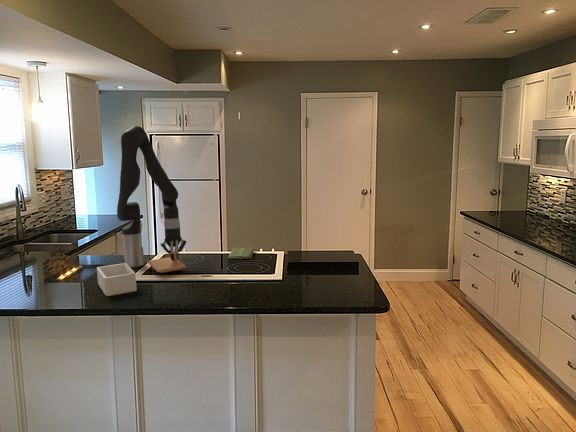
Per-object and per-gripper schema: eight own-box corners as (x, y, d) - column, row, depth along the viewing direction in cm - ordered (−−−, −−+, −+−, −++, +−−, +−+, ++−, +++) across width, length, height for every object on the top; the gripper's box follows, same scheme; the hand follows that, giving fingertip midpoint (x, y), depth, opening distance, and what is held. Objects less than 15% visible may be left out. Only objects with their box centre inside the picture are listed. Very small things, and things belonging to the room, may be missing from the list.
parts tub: (127, 279, 234) (125, 262, 232) (136, 290, 217) (135, 273, 215) (98, 284, 228) (96, 267, 226) (105, 296, 210) (104, 278, 209)
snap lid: (173, 260, 257) (172, 247, 256) (185, 269, 240) (184, 255, 238) (147, 264, 251) (146, 251, 250) (158, 274, 233) (156, 260, 232)
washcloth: (227, 260, 264) (226, 254, 263) (232, 252, 281) (232, 246, 281) (251, 260, 263) (251, 254, 262) (255, 251, 280) (255, 246, 280)
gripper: (183, 223, 250) (185, 256, 253) (156, 227, 244) (159, 260, 247) (187, 226, 244) (190, 260, 247) (160, 229, 238) (163, 264, 241)
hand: (174, 260), depth 247 cm, fingers closed on snap lid, 1 cm apart
